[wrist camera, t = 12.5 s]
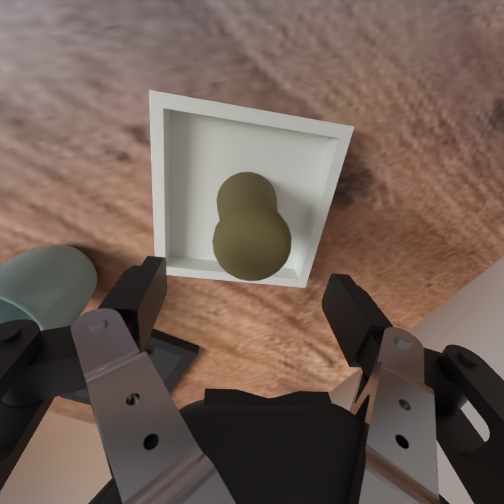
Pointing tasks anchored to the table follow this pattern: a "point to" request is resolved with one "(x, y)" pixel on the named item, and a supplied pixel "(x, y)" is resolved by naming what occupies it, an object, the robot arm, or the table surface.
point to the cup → (46, 286)
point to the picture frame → (159, 361)
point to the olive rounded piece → (250, 228)
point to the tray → (230, 163)
